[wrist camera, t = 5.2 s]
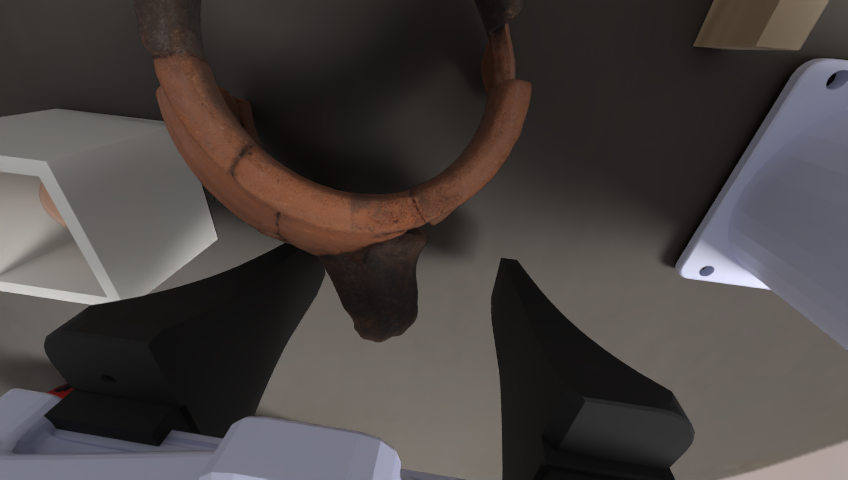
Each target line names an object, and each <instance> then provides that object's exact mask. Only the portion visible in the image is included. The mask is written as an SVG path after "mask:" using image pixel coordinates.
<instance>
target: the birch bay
mask: <svg viewBox="0 0 848 480" xmlns="http://www.w3.org/2000/svg"><path fill="white" fill-rule="evenodd" d="M828 2H829V0H714V1H713V3H712V5H711V7H710V10H709V12H708V14H707V16H706V19H705V21H704V23H703V25H702V27H701V30H700V32H699V34H698V36H697V38H696V41H695V43H694V45H693V46H696V47H706V48H716V49H726V50H800V48H801V47H802V45H803V43H804V42H805V40H806V38H807V37H808V35H809V33H810V32H811V30H812V28H813V27H814V25H815V23H816V22H817V20H818V18H819V17H820V15H821V13H822V12H823V10H824V8H825V7H826V5H827V3H828Z"/></svg>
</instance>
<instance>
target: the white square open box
mask: <svg viewBox="0 0 848 480" xmlns="http://www.w3.org/2000/svg"><path fill="white" fill-rule="evenodd" d="M41 181H42V183H43V185H44V186H45V188H46V190H47V192H48V193H49V195H50V197H51V199H52V200H53V202H54V204H55V206H56V208H57V209H58V211H59V213H60V215H61V216H62V218H63V220H64V222H65V223H66V225H67V227H68V228H66V227H64V226H63V225H61V224H59V223H58V222H56V221H55V220H54V219H52V218H51V217H50V216H49V215H48V214H47V212H46V211H45V210H44V208H43V206H42V204H41V201H40V198H39V187H40V184H41ZM216 240H218V238H217V235H216V231H215V228H214V224H213V221H212V218H211V214H210V211H209V207H208V204H207V201H206V197H205V194H204V190H203V187H202V183H201V182H200V181H199V179H198V178H197V177H196V176H195V174H194V173H193V172H192V171H191V169H190V168H189V166H188V165H187V164H186V162H185V161H184V159H183V157H182V156H181V154H180V153H179V151H178V149H177V148H176V146H175V144H174V142H173V140H172V138H171V136H170V134H169V132H168V130H167V128H166V125H165V123H164V121H157V120H149V119H141V118H133V117H124V116H116V115H108V114H99V113H91V112H83V111H74V110H66V109H58V108H57V109H50V110H44V111H37V112H30V113H24V114H17V115H11V116H4V117H0V291H6V292H12V293H19V294H25V295H32V296H38V297H45V298H51V299H58V300H64V301H71V302H77V303H84V304H90V305H95V304H102V303H107V302H113V301H118V300H124V299H129V298H134V297H139V296H144V295H147V294H148V293H149V292H150V291H152V290H153V289H154V288H156V287H157V286H158V285H160V284H161V283H162V282H163V281H165V280H166V279H167V278H169V277H170V276H171V275H172V274H174V273H175V272H176V271H178V270H179V269H180V268H181V267H183V266H184V265H185V264H187V263H188V262H189V261H190V260H192V259H193V258H194V257H196V256H197V255H198V254H200V253H201V252H202V251H203V250H205V249H206V248H207V247H209V246H210V245H211V244H212V243H214V242H215V241H216Z"/></svg>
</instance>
